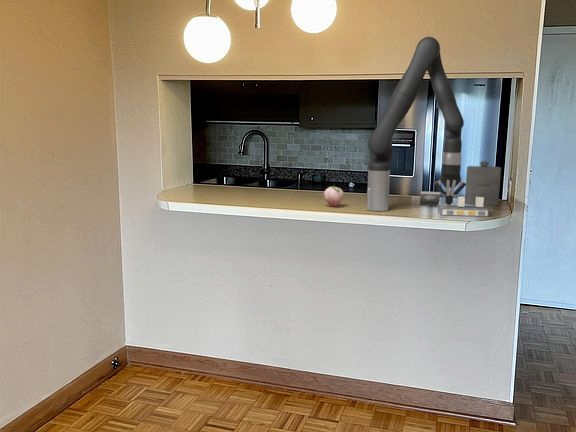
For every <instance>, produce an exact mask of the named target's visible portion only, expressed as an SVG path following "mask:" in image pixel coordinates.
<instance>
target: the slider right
mask: <svg viewBox="0 0 576 432" xmlns="http://www.w3.org/2000/svg"><path fill="white" fill-rule="evenodd" d="M483 202H484V197H483V196H476V203H475V205H474V206H476V207H483V206H484V205H483Z"/></svg>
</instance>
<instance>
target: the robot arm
mask: <svg viewBox="0 0 576 432" xmlns="http://www.w3.org/2000/svg"><path fill="white" fill-rule="evenodd" d="M441 55H442V54H441V45H440V42H439V40H437V39H436V37H432V36H426V37H424V38H421V39H420V40H419V42H418V43H417V45H416V46H415V50H414V53H413V56H412V58H411V61H410V63H409V65H408V67H407V68H406V70H405V72H404V74H402V77H401V78H400V80H399V82H398V83H397V85H396V86H395V88H394V90H393V92H392V94H391V97H390V99H389V100H388V103H387V105H386V107H385V110H384V113H383V115H382V117H381V118H380V121H379V123H378V124H377V126H376V127H375V129H374V131H373V132H372V133H371V135H370V136H369V138H368V142H367V145H368V146H367V147H368V150H369V151H370V154H369V155H370V157H369V162H368V165H367V167H368V168H367V172H368V173H367V190H366V191H367V192H366V210H367V211H371V212H372V211H374V212H385V211H389V207H390V206H389V199H390V179H391V178H390V177H391V164H392V154H393V140H392V138H393V136H394V134H395V132H396V129H397V128H398V126H399V125H400V123H401V122H402V121H403V119H404V118H405V117H406V115H407V114H408V113H409V112H410V110H411V108H412V106H413V104H414V102H415V101H416V98H417V97H418V93H419V92H420V89H421V85H422V83H423V80H424V77H425V76H426V73H428V76H429V79H430V83H431V86H432V91H433V93H434V96H435V100H436V103H437V105H438V107H439V109H440V111H441V113H442V118H443V120H444V141H443V142H444V143H443V153H442V160H441V162H442V163H441V175H440V178H439V180H437V181H435V182H434V184H435V186H436V187H437V189H438V190H439V192H441V195H444V197H445V199H444V200H445V201H444V202H445V204H446V205H453V202H454V196H455V195H456V196H458V195H459V193H461V191H462V190H463V189H464V188H466V182H463V180H462V178H461V171H462V170H461V169H462V148H463V147H462V146H463V145H462V144H463V141H462V132H463V131H462V130H463V127H464V125H465V121H464V118H463V114H462V113H461V111H460V109H459V106H458V103H457V100H456V97H455V94H454V91H453V87H452V86H451V83H450V81H449V79H448V77H447V75H446V72H445V69H444V66H443V62H442V61H443V60H442V56H441ZM442 185H443V187H444V188H445V190H444V189H443V188H442ZM458 185H459V186H458ZM457 186H458V187H457ZM456 187H457V188H456ZM455 188H456V189H455Z"/></svg>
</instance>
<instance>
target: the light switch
mask: <svg viewBox="0 0 576 432" xmlns="http://www.w3.org/2000/svg"><path fill="white" fill-rule="evenodd" d="M441 196H442V193H441V192H440V191H420V196H419V204H418V205H420V206H438V205H440V204H439V203H440V200H441Z"/></svg>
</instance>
